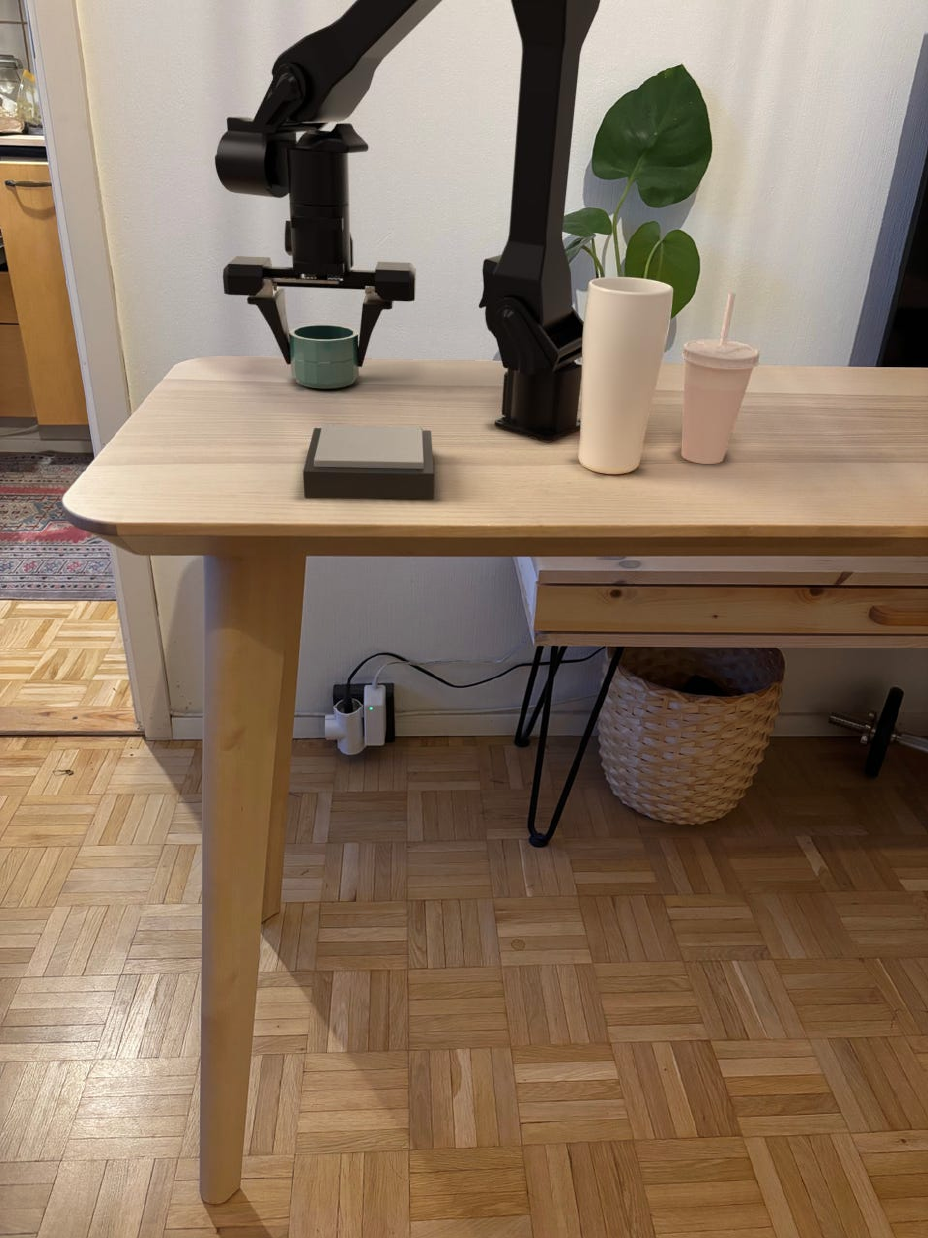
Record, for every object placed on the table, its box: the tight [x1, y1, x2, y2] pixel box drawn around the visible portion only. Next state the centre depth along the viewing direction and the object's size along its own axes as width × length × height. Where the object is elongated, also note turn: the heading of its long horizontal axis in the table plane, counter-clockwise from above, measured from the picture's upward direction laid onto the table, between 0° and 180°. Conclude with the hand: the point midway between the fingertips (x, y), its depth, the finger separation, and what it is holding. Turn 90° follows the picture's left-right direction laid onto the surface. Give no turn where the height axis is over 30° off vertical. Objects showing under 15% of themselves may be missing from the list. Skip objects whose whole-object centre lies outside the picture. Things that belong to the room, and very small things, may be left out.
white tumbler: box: [577, 276, 674, 475], centre depth 76 cm, size 7×7×15 cm
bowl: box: [289, 323, 360, 390], centre depth 96 cm, size 7×7×5 cm
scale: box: [302, 423, 435, 500], centre depth 75 cm, size 10×10×3 cm
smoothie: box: [680, 292, 761, 465], centre depth 79 cm, size 6×6×14 cm
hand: (325, 364), depth 97 cm, fingers closed on bowl, 7 cm apart
